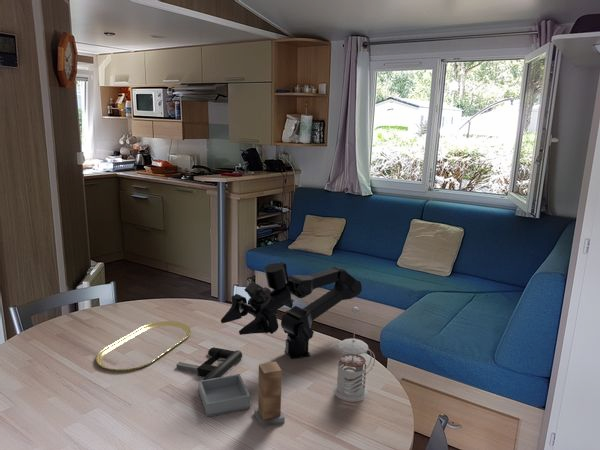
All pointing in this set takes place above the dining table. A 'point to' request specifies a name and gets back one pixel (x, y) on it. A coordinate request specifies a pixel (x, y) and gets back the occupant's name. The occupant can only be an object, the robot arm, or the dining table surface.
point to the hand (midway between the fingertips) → (230, 327)
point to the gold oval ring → (134, 334)
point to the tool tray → (224, 395)
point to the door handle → (207, 368)
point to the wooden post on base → (269, 395)
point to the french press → (349, 381)
